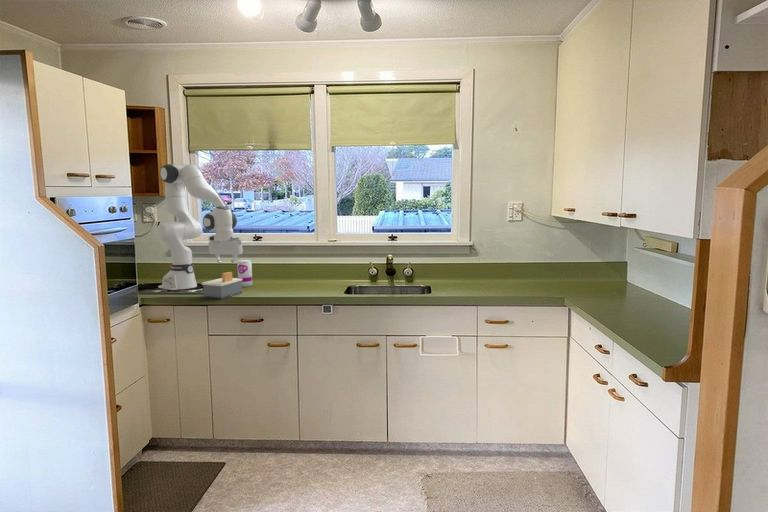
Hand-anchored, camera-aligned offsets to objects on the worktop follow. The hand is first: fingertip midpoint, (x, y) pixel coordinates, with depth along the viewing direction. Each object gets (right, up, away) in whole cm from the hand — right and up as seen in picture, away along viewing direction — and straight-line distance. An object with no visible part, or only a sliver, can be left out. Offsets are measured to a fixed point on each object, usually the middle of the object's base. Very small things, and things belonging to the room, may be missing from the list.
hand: (226, 262), depth 265 cm
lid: (-3, -11, +3) cm, 11 cm away
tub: (-3, -18, +4) cm, 18 cm away
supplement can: (+2, -14, +30) cm, 33 cm away
